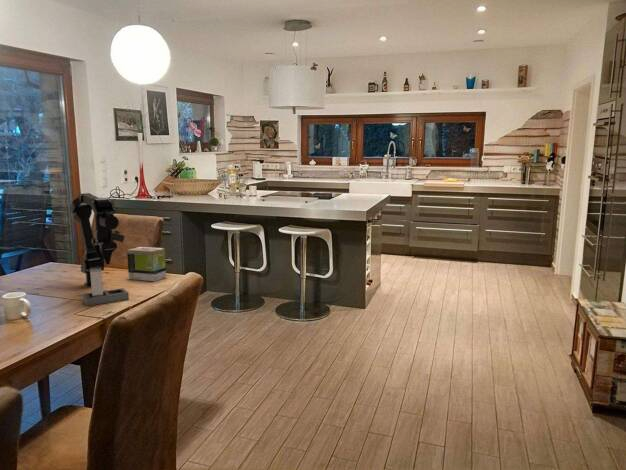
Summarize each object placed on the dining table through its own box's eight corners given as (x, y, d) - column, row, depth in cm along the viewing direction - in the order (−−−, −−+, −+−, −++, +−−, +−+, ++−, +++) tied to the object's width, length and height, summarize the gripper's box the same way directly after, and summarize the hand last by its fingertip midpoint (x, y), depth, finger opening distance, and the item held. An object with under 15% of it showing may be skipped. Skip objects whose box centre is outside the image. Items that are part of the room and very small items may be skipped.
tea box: (166, 277, 237) (165, 247, 235) (153, 282, 228) (152, 251, 225) (141, 274, 242) (140, 245, 240) (127, 279, 232) (126, 249, 230)
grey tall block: (92, 301, 197) (90, 267, 195) (103, 299, 199) (100, 266, 197) (93, 303, 193) (90, 269, 191) (103, 302, 195) (101, 268, 193)
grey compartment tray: (82, 301, 196) (82, 294, 196) (123, 295, 206) (122, 288, 205) (87, 306, 190) (86, 299, 190) (128, 299, 200) (128, 292, 199)
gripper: (128, 227, 204) (130, 263, 207) (116, 223, 219) (118, 256, 221) (100, 230, 198) (103, 267, 200) (90, 225, 212) (92, 259, 215)
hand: (105, 262), depth 209 cm, fingers open, 9 cm apart
